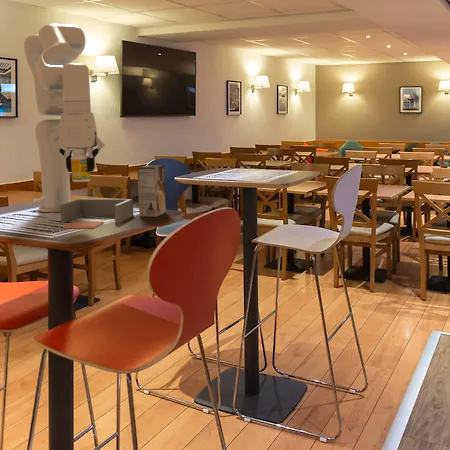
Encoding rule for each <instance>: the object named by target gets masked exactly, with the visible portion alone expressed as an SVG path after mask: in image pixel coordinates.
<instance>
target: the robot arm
mask: <svg viewBox="0 0 450 450" xmlns="http://www.w3.org/2000/svg"><path fill="white" fill-rule="evenodd" d="M85 47H86V35H85V33H84V31H83V29H82V27H79V26H78V25H75V24H62V23H61V24H59V23H48V24H45V25H43V26H41V28H40V29H39V30H38V33H37V34H36V33H35V34H31V35H28V36H27V37H26V38H25V39H24V44H23V48H24V49H23V50H24V54H25V58H26V62H27V64H28V67H29V69H30V71H31V74H32V76H33V82H34V89H35V90H34V91H35V99H36V100H35V101H36V106H37V107H36V108H37V111H38V112H39V114H40V115H42V116H43V117H60V119H56V118H54V119H44V120H41V121H39V122H37V123H36V125H35V129H34V130H35V132H34V133H35V138H36V142H37V146H38V155H39V165H40V180H41V193H42V195H41V196H42V197H39V198H33V199H32V205H39V207H38V211H39V212H44V213H61V212H60V205H62V204H65V203H68V202H71V201H72V198H71V181H70V173H72V171H71V157H72V156H73V150H72V149H73V148H86V150H87V153H86V154H87V155H88V157H89V158H88V159H87V167H88V172H90V173H92V172H94V171H95V168H96V161H95V159H96V157H97V155H98V154H99V153H100V152H101V151H102V150H103V149H104V148H105V147H106V144H105V143H104V142H103V141H102V140H101V139H100V138H99V136H98V130H97V129H98V128H97V124H96V120H95V119H96V118H95V116H94V113H93V112H92V107H91V106H92V105H91V89H90V88H91V84H90V71H89V70H90V69H89V66H88V65H86V64H84V63H74V62H73V61H76V60H77V59H78V58H79V56H81V54H82V53H83V52H84V50H85ZM72 62H73V63H72ZM95 147H96V148H95Z"/></svg>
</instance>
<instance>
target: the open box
mask: <svg viewBox="0 0 450 450" xmlns="http://www.w3.org/2000/svg"><path fill="white" fill-rule="evenodd" d="M59 213H60V223H61V224H66V223H68V222H70V221H73V220H75V219H78V218H81V217H114V222H115V224H121V223H122V222H124V221H126V220H128V219H131V218H132V217H133V216H134V199H133V198H77V199H75V200H71V202H68V203H65V204H62V205H60V212H59Z"/></svg>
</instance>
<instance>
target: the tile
mask: <svg viewBox="0 0 450 450" xmlns="http://www.w3.org/2000/svg"><path fill="white" fill-rule="evenodd" d="M103 224H105V222H104V221H95V220H93V221H90V220H89V221H85V220H83V221H80V220H79V221H76V220H74V221H73V222H70V223H68V224H66V225H63V229H96V228H98V227H99V226H100V227H101V225H103Z"/></svg>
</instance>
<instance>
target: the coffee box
mask: <svg viewBox="0 0 450 450" xmlns="http://www.w3.org/2000/svg"><path fill="white" fill-rule="evenodd" d="M165 183H166V182H165V165H164V164H163V165H162V164H160V165H159V164H155V165H154V164H153V165H152V164H151V165H142V166H139V167H137V189H138V208H139V209H138V210H139V217H157V218H158V217H159V216H162V215H163V214H166V211H167V210H166V188H165V187H166V186H165Z"/></svg>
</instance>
